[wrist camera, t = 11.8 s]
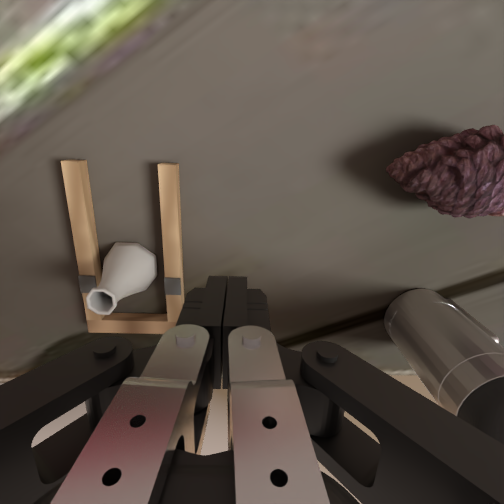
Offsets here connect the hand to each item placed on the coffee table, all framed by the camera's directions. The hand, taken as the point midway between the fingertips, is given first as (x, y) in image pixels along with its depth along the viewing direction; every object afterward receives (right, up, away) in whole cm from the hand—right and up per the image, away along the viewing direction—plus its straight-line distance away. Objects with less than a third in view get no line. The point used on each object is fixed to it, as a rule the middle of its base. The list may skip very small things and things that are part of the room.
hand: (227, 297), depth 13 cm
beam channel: (-15, +3, +30) cm, 33 cm away
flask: (-15, 0, +31) cm, 35 cm away
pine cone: (+25, +12, +27) cm, 39 cm away
